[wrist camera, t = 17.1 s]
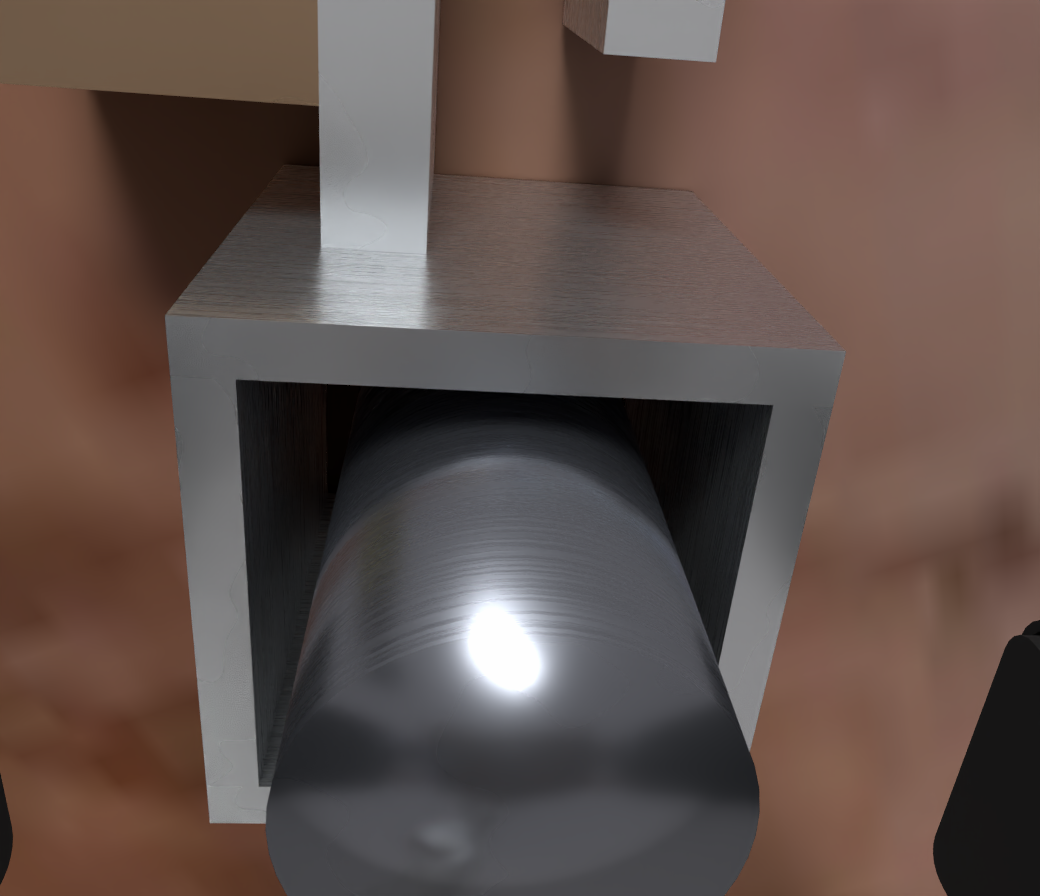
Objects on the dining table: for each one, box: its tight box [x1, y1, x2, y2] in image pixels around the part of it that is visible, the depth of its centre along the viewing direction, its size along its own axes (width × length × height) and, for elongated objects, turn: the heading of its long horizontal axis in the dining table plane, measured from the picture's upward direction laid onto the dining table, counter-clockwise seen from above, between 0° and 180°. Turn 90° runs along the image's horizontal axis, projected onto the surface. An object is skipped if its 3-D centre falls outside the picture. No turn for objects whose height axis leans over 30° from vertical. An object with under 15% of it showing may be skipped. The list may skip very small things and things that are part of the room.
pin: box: [266, 385, 759, 896], centre depth 12 cm, size 4×4×10 cm
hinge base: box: [0, 0, 846, 823], centre depth 11 cm, size 18×9×7 cm, turn 176°
